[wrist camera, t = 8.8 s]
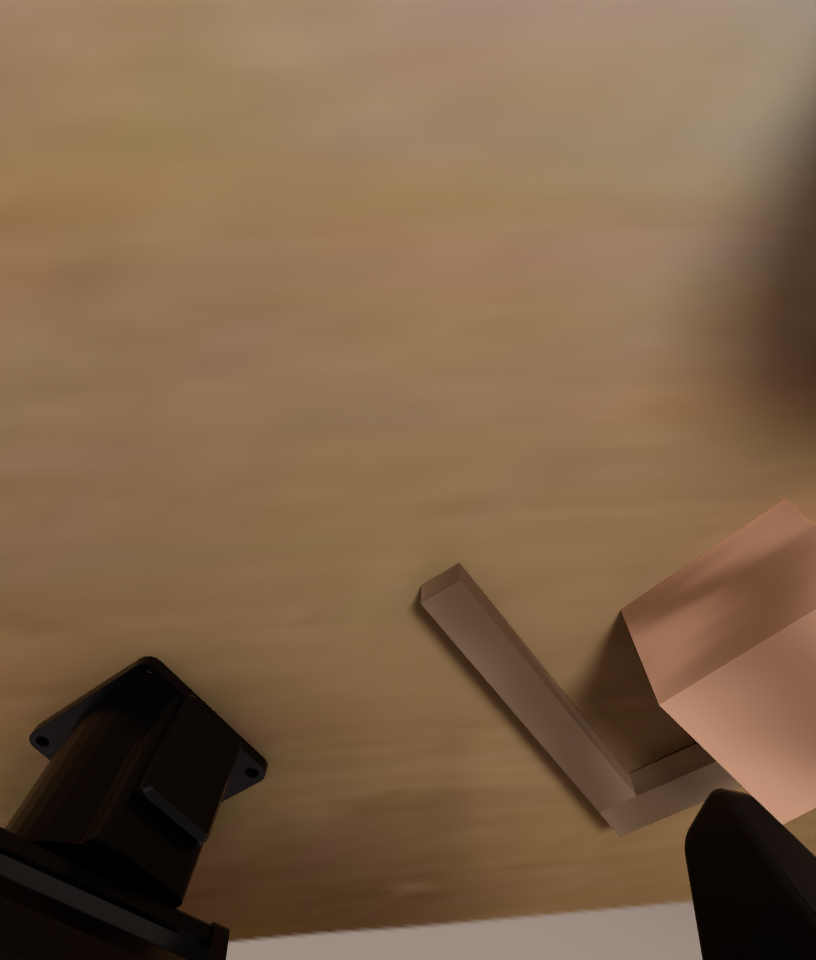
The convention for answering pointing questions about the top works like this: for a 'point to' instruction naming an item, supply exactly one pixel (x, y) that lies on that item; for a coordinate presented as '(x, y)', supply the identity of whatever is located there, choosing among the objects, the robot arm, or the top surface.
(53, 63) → the top surface
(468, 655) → the walnut bay
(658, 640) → the terracotta block
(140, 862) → the robot arm
